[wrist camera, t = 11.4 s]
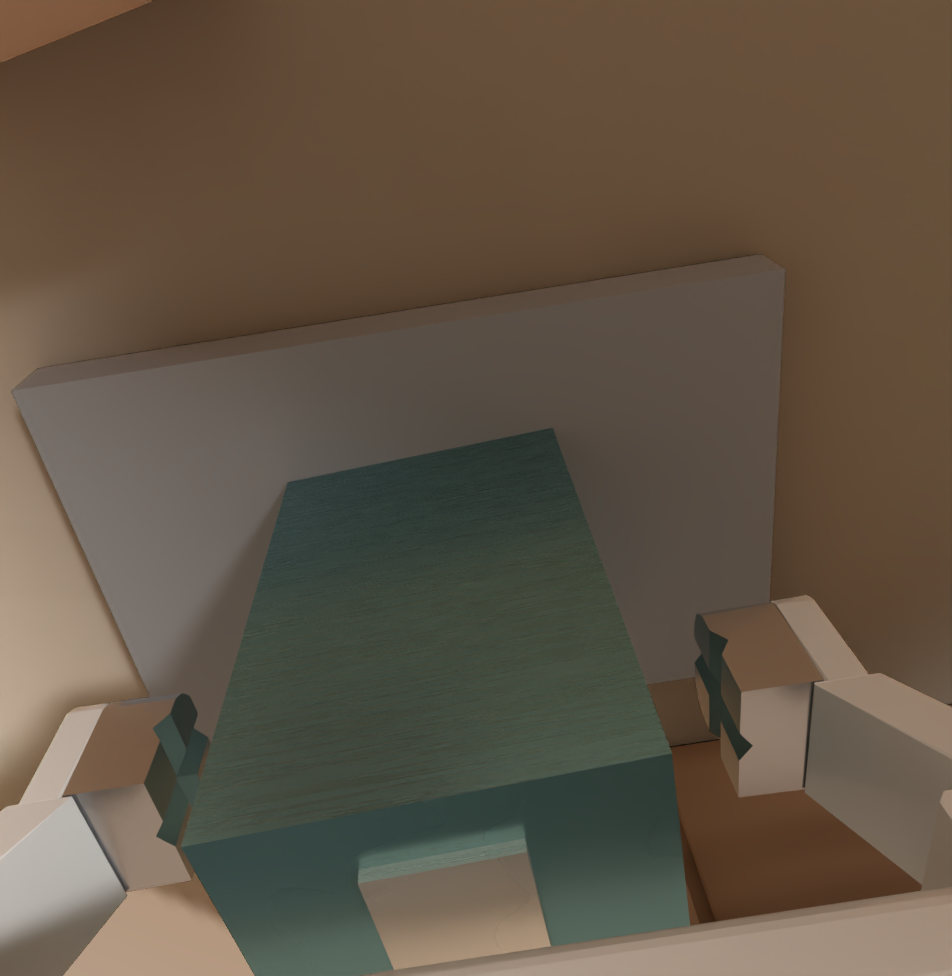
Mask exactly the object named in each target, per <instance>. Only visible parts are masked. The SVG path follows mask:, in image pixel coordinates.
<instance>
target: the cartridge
mask: <svg viewBox="0 0 952 976" xmlns="http://www.w3.org/2000/svg"><path fill="white" fill-rule="evenodd" d="M181 848H182V850H183V852H184V853H185V855H186V857H187V859H188V860H189V862H190V864H191V866H192V867H193V869H194V871H195V873H196V874H197V876H198V878H199V880H200V881H201V883H202V885H203V886H204V888H205V890H206V892H207V893H208V895H209V897H210V899H211V900H212V902H213V904H214V906H215V907H216V909H217V911H218V913H219V914H220V916H221V918H222V919H223V921H224V923H225V925H226V926H227V928H228V930H229V932H230V933H231V935H232V937H233V939H234V940H235V942H236V944H237V945H238V947H239V949H240V951H241V952H242V954H243V956H244V958H245V959H246V961H247V963H248V965H249V966H250V968H251V970H252V972H253V973H254V975H255V976H357V975H363V974H370V973H377V972H383V971H390V970H397V969H403V968H410V967H417V966H423V965H430V964H437V963H443V962H450V961H457V960H463V959H470V958H477V957H483V956H490V955H497V954H503V953H510V952H517V951H523V950H530V949H537V948H543V947H550V946H557V945H563V944H570V943H577V942H583V941H590V940H596V939H603V938H610V937H616V936H623V935H630V934H636V933H643V932H650V931H656V930H663V929H670V928H676V927H683V926H689V925H690V919H689V910H688V900H687V891H686V881H685V872H684V862H683V853H682V843H681V834H680V824H679V815H678V805H677V796H676V786H675V777H674V767H673V758H672V752H671V749H670V746H669V744H668V741H667V738H666V736H665V733H664V730H663V727H662V725H661V722H660V719H659V716H658V714H657V711H656V708H655V706H654V703H653V700H652V697H651V695H650V692H649V689H648V686H647V684H646V681H645V678H644V676H643V673H642V670H641V667H640V665H639V662H638V659H637V656H636V654H635V651H634V648H633V646H632V643H631V640H630V637H629V635H628V632H627V629H626V626H625V624H624V621H623V618H622V616H621V613H620V610H619V607H618V605H617V602H616V599H615V596H614V594H613V591H612V588H611V586H610V583H609V580H608V577H607V575H606V572H605V569H604V566H603V564H602V561H601V558H600V556H599V553H598V550H597V547H596V545H595V542H594V539H593V536H592V534H591V531H590V528H589V526H588V523H587V520H586V517H585V515H584V512H583V509H582V506H581V504H580V501H579V498H578V496H577V493H576V490H575V487H574V485H573V482H572V479H571V476H570V474H569V471H568V468H567V466H566V463H565V460H564V457H563V455H562V452H561V449H560V446H559V444H558V441H557V438H556V436H555V433H554V430H553V428H548V429H544V430H539V431H534V432H529V433H524V434H519V435H514V436H510V437H505V438H500V439H495V440H490V441H485V442H480V443H476V444H471V445H466V446H461V447H456V448H451V449H446V450H442V451H437V452H432V453H427V454H422V455H417V456H412V457H408V458H403V459H398V460H393V461H388V462H383V463H378V464H374V465H369V466H364V467H359V468H354V469H349V470H344V471H340V472H335V473H330V474H325V475H320V476H315V477H310V478H306V479H301V480H296V481H291V482H288V483H287V486H286V490H285V493H284V496H283V500H282V503H281V507H280V510H279V514H278V517H277V520H276V524H275V527H274V531H273V534H272V537H271V541H270V544H269V548H268V551H267V555H266V558H265V561H264V565H263V568H262V572H261V575H260V579H259V582H258V585H257V589H256V592H255V596H254V599H253V602H252V606H251V609H250V613H249V616H248V620H247V623H246V626H245V630H244V633H243V637H242V640H241V643H240V647H239V650H238V654H237V657H236V661H235V664H234V667H233V671H232V674H231V678H230V681H229V684H228V688H227V691H226V695H225V698H224V702H223V705H222V708H221V712H220V715H219V719H218V722H217V725H216V729H215V732H214V736H213V739H212V743H211V746H210V749H209V753H208V756H207V760H206V763H205V767H204V770H203V773H202V777H201V780H200V784H199V787H198V790H197V794H196V797H195V801H194V804H193V808H192V811H191V814H190V818H189V821H188V825H187V828H186V831H185V835H184V838H183V842H182V845H181Z"/></svg>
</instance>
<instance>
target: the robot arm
mask: <svg viewBox="0 0 952 976" xmlns="http://www.w3.org/2000/svg"><path fill="white" fill-rule="evenodd" d="M694 638H695V640H696V642H697V645H698V647H699V649H700V651H701V653H702V654H701V655H700V656H699V657H698V659H697V660H696V661H695V663H694V665H695V683H696V689H697V695H698V701H699V704H700V707H701V711H702V714H703V717H704V719H705V722H706V724H707V727H708V729H709V731H710V732H712V733H713V734H715V735H716V736H718V737H719V738H721V759H722V761H723V764H724V766H725V768H726V770H727V773H728V775H729V777H730V779H731V782H732V784H733V786H734V788H735V791H736V793H737V795H738V797H747V796H755V795H763V794H771V793H779V792H787V791H795V790H803V789H805V793H806V794H807V795H808V796H810V797H811V798H812V799H813V800H815V801H816V802H817V803H819V804H820V805H821V806H822V807H824V808H825V809H826V810H827V811H829V812H830V813H831V814H833V815H834V816H835V817H836V818H838V819H839V820H840V821H841V822H843V823H844V824H845V825H846V826H848V827H849V828H850V829H852V830H853V831H854V832H855V833H857V834H858V835H859V836H860V837H862V838H863V839H864V840H866V841H867V842H868V843H869V844H871V845H872V846H873V847H874V848H876V849H877V850H878V851H879V852H881V853H882V854H883V855H885V856H886V857H887V858H888V859H890V860H891V861H892V862H893V863H895V864H896V865H897V866H899V867H900V868H901V869H902V870H904V871H905V872H906V873H907V874H909V875H910V876H911V877H913V878H914V879H915V880H916V881H918V882H919V883H920V884H921V885H922V887H921V891H916V892H910V893H903V894H896V895H890V896H883V897H876V898H869V899H863V900H856V901H849V902H843V903H836V904H829V905H823V906H816V907H809V908H803V909H796V910H789V911H783V912H776V913H769V914H763V915H756V916H749V917H743V918H736V919H729V920H723V921H716V922H709V923H703V924H696V925H689V926H683V927H676V928H670V929H663V930H656V931H650V932H643V933H636V934H630V935H623V936H616V937H610V938H603V939H596V940H590V941H583V942H577V943H570V944H563V945H557V946H550V947H543V948H537V949H530V950H523V951H517V952H510V953H503V954H497V955H490V956H483V957H477V958H470V959H463V960H457V961H450V962H443V963H437V964H430V965H423V966H417V967H410V968H403V969H397V970H390V971H383V972H377V973H370V974H363V975H357V976H952V707H950V706H948V705H946V704H944V703H942V702H940V701H938V700H935V699H933V698H931V697H929V696H927V695H925V694H923V693H921V692H919V691H917V690H915V689H913V688H911V687H909V686H907V685H904V684H902V683H900V682H898V681H896V680H894V679H892V678H890V677H888V676H886V675H884V674H882V673H876V674H868V672H867V671H866V670H865V668H864V667H863V665H862V664H861V663H860V661H859V660H858V659H857V657H856V656H855V655H854V653H853V652H852V651H851V649H850V648H849V647H848V645H847V644H846V642H845V641H844V640H843V638H842V637H841V636H840V634H839V633H838V632H837V630H836V629H835V628H834V626H833V625H832V624H831V622H830V621H829V620H828V618H827V617H826V615H825V614H824V613H823V611H822V610H821V609H820V607H819V606H818V605H817V603H816V602H815V601H814V599H813V598H811V597H809V596H807V595H802V596H797V597H791V598H785V599H780V600H774V601H770V602H769V603H761V604H755V605H749V606H742V607H736V608H730V609H724V610H717V611H711V612H705V613H699V614H696V617H695V622H694ZM197 716H198V712H197V710H196V708H195V706H194V704H193V701H192V699H191V697H190V696H189V695H186V694H184V693H177V694H169V695H161V696H153V697H146V698H138V699H130V700H123V701H115V702H111V703H105V704H97V705H89V706H82V707H76V708H74V709H73V710H71V711H70V712H69V713H67V714H66V716H65V717H64V719H63V721H62V723H61V725H60V727H59V729H58V731H57V733H56V734H55V736H54V738H53V740H52V742H51V744H50V746H49V748H48V750H47V751H46V753H45V755H44V757H43V759H42V761H41V763H40V765H39V766H38V768H37V770H36V772H35V774H34V776H33V778H32V780H31V782H30V783H29V785H28V787H27V789H26V791H25V793H24V795H23V797H22V798H21V800H20V802H19V804H18V805H12V806H7V807H5V808H4V809H3V810H2V811H0V976H63V975H64V974H65V972H66V971H67V970H68V969H69V967H70V966H71V965H72V964H73V962H74V961H75V960H76V959H77V957H78V956H79V955H80V954H81V953H82V951H83V950H84V949H85V948H86V946H87V945H88V944H89V943H90V941H91V940H92V939H93V938H94V936H95V935H96V934H97V933H98V931H99V930H100V929H101V928H102V926H103V925H104V924H105V923H106V922H107V920H108V919H109V918H110V916H111V915H112V914H113V913H114V912H115V910H116V909H117V908H118V907H119V905H120V904H121V903H122V902H123V900H124V899H125V898H126V897H127V894H126V892H130V891H136V890H141V889H147V888H152V887H158V886H163V885H169V884H174V883H180V882H185V881H191V880H192V878H193V874H194V869H193V867H192V866H191V864H190V862H189V860H188V859H187V857H186V855H185V853H184V852H183V850H182V848H181V845H182V842H183V838H184V835H185V831H186V828H187V825H188V821H189V818H190V814H191V811H192V808H193V804H194V801H195V797H196V794H197V790H198V787H199V784H200V780H201V777H202V773H203V770H204V767H205V763H206V760H207V756H208V753H209V749H210V746H211V743H210V741H209V738H208V737H207V736H205V735H204V734H202V733H201V732H199V731H198V730H196V729H194V725H195V722H196V719H197Z"/></svg>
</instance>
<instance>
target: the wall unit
mask: <svg viewBox="0 0 952 976" xmlns="http://www.w3.org/2000/svg"><path fill="white" fill-rule="evenodd" d="M948 706H950V707H952V704H951V705H948ZM670 749H671V752H672V758H673V767H674V777H675V786H676V796H677V805H678V815H679V824H680V834H681V843H682V853H683V862H684V872H685V881H686V891H687V900H688V910H689V919H690V925H696V924H703V923H709V922H716V921H723V920H729V919H736V918H743V917H749V916H756V915H763V914H769V913H776V912H783V911H789V910H796V909H803V908H809V907H816V906H823V905H829V904H836V903H843V902H849V901H856V900H863V899H869V898H876V897H883V896H890V895H896V894H903V893H910V892H916V891H921V887H922V885H921V884H920V883H919V882H918V881H916V880H915V879H914V878H913V877H911V876H910V875H909V874H907V873H906V872H905V871H904V870H902V869H901V868H900V867H899V866H897V865H896V864H895V863H893V862H892V861H891V860H890V859H888V858H887V857H886V856H885V855H883V854H882V853H881V852H879V851H878V850H877V849H876V848H874V847H873V846H872V845H871V844H869V843H868V842H867V841H866V840H864V839H863V838H862V837H860V836H859V835H858V834H857V833H855V832H854V831H853V830H852V829H850V828H849V827H848V826H846V825H845V824H844V823H843V822H841V821H840V820H839V819H838V818H836V817H835V816H834V815H833V814H831V813H830V812H829V811H827V810H826V809H825V808H824V807H822V806H821V805H820V804H819V803H817V802H816V801H815V800H813V799H812V798H811V797H810V796H808V795H807V794H806V793H805V789H803V790H795V791H787V792H779V793H771V794H763V795H755V796H747V797H738V795H737V793H736V791H735V788H734V786H733V784H732V782H731V779H730V777H729V775H728V773H727V770H726V768H725V766H724V764H723V761H722V759H721V740H716V741H710V742H703V743H697V744H690V745H684V746H677V747H671V748H670Z"/></svg>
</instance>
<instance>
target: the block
mask: <svg viewBox="0 0 952 976" xmlns="http://www.w3.org/2000/svg"><path fill="white" fill-rule="evenodd" d="M152 1H154V0H0V63H1V62H4V61H6V60H9V59H11V58H14V57H16V56H19V55H21V54H24V53H26V52H29V51H31V50H34V49H36V48H38V47H41V46H43V45H46V44H48V43H51V42H53V41H56V40H58V39H61V38H63V37H66V36H68V35H70V34H73V33H75V32H78V31H80V30H83V29H85V28H88V27H90V26H93V25H95V24H98V23H100V22H103V21H105V20H107V19H110V18H112V17H115V16H117V15H120V14H122V13H125V12H127V11H130V10H132V9H135V8H137V7H139V6H142V5H144V4H147V3H149V2H152Z"/></svg>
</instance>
